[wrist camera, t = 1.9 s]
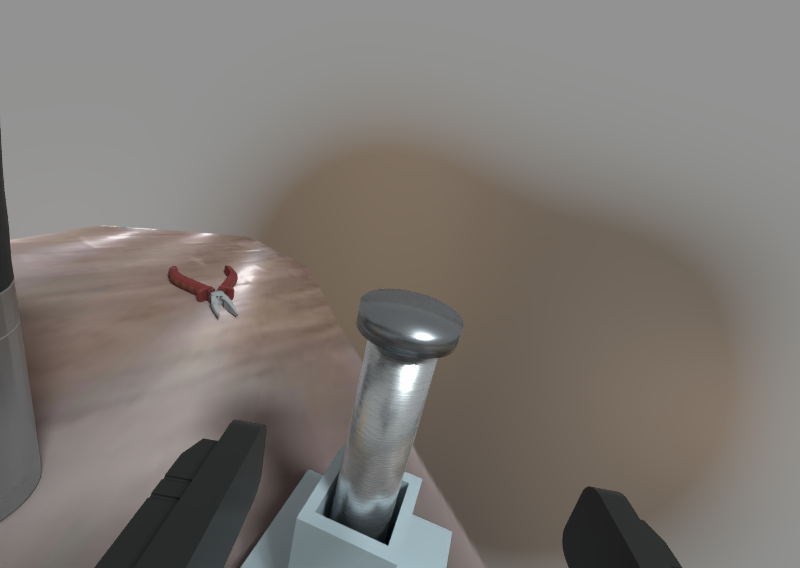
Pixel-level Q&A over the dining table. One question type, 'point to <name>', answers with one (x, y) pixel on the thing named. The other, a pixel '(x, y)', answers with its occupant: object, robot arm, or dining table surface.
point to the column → (389, 401)
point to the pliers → (208, 289)
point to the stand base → (347, 532)
